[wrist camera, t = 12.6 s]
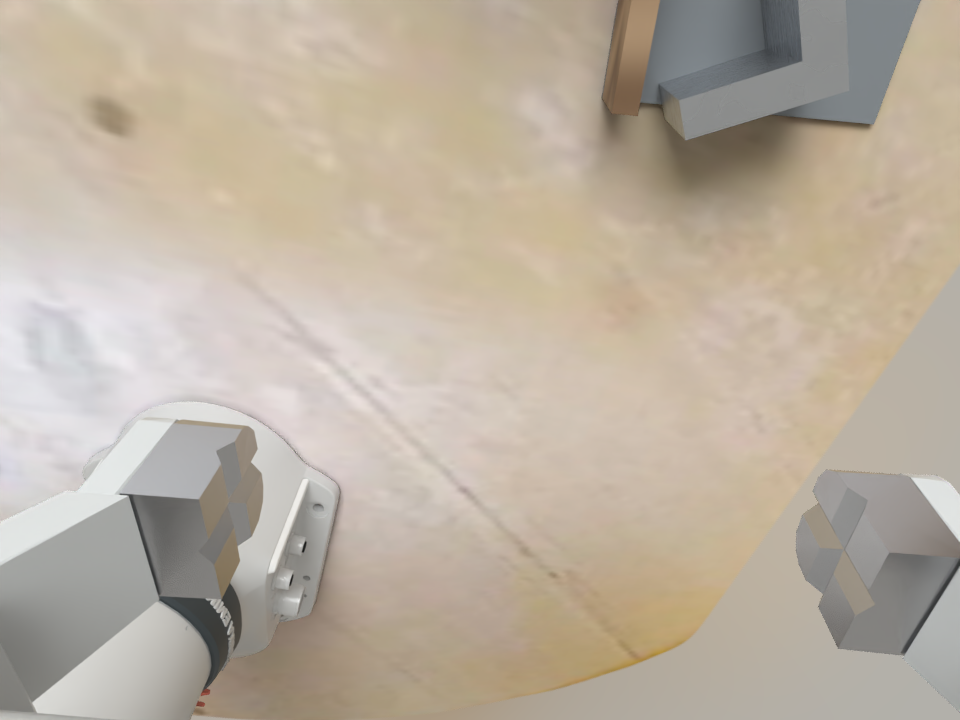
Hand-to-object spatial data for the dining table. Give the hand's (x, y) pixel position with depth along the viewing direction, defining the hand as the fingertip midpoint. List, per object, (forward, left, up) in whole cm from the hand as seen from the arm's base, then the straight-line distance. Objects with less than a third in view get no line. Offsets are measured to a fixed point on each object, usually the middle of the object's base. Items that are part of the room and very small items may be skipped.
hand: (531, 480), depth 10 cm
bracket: (+5, -9, -29) cm, 31 cm away
